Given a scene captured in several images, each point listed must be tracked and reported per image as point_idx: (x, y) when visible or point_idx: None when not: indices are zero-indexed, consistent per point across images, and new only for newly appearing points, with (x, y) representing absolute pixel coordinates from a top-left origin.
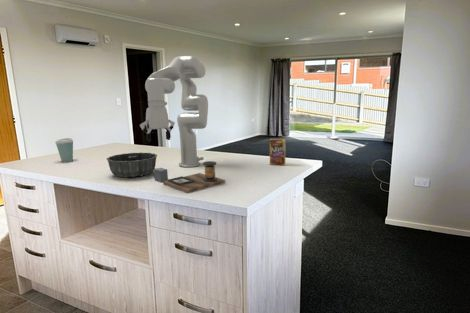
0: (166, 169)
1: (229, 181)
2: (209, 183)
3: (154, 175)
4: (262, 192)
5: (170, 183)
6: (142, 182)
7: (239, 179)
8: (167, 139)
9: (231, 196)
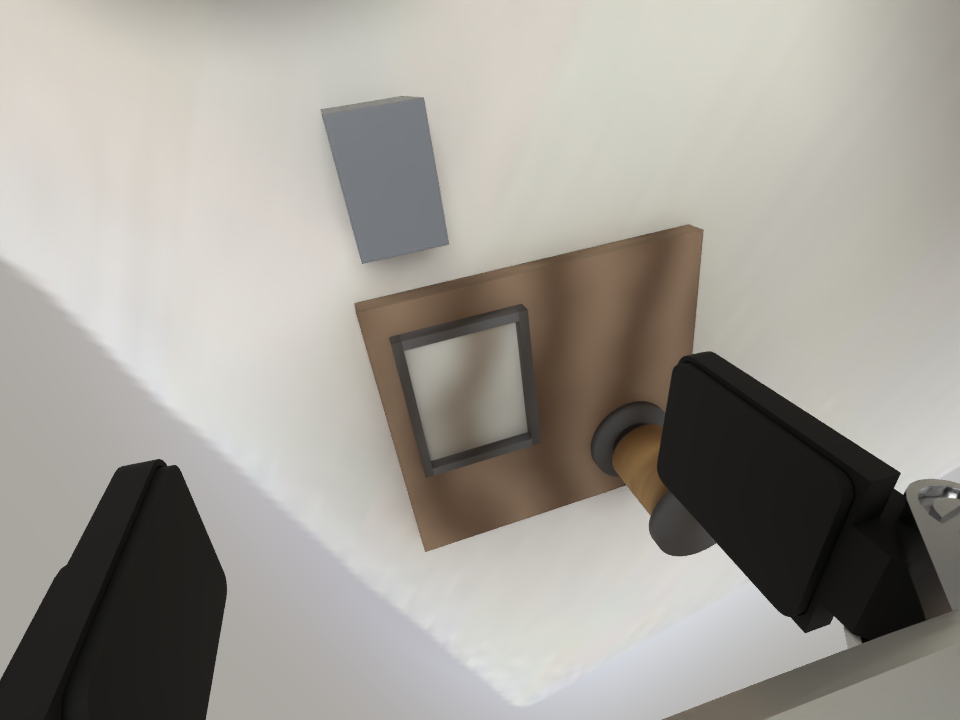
0: (441, 242)
1: None
2: (581, 494)
3: (321, 111)
4: (667, 613)
5: (388, 393)
6: (174, 103)
7: None
8: (664, 425)
9: (555, 622)
